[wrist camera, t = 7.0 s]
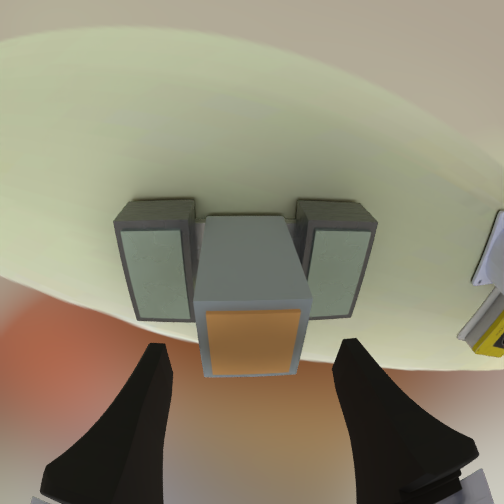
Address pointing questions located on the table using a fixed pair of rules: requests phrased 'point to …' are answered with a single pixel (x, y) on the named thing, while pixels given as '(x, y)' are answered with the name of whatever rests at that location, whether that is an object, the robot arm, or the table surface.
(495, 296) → the emergency button
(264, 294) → the block
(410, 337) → the table surface
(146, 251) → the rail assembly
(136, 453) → the robot arm
